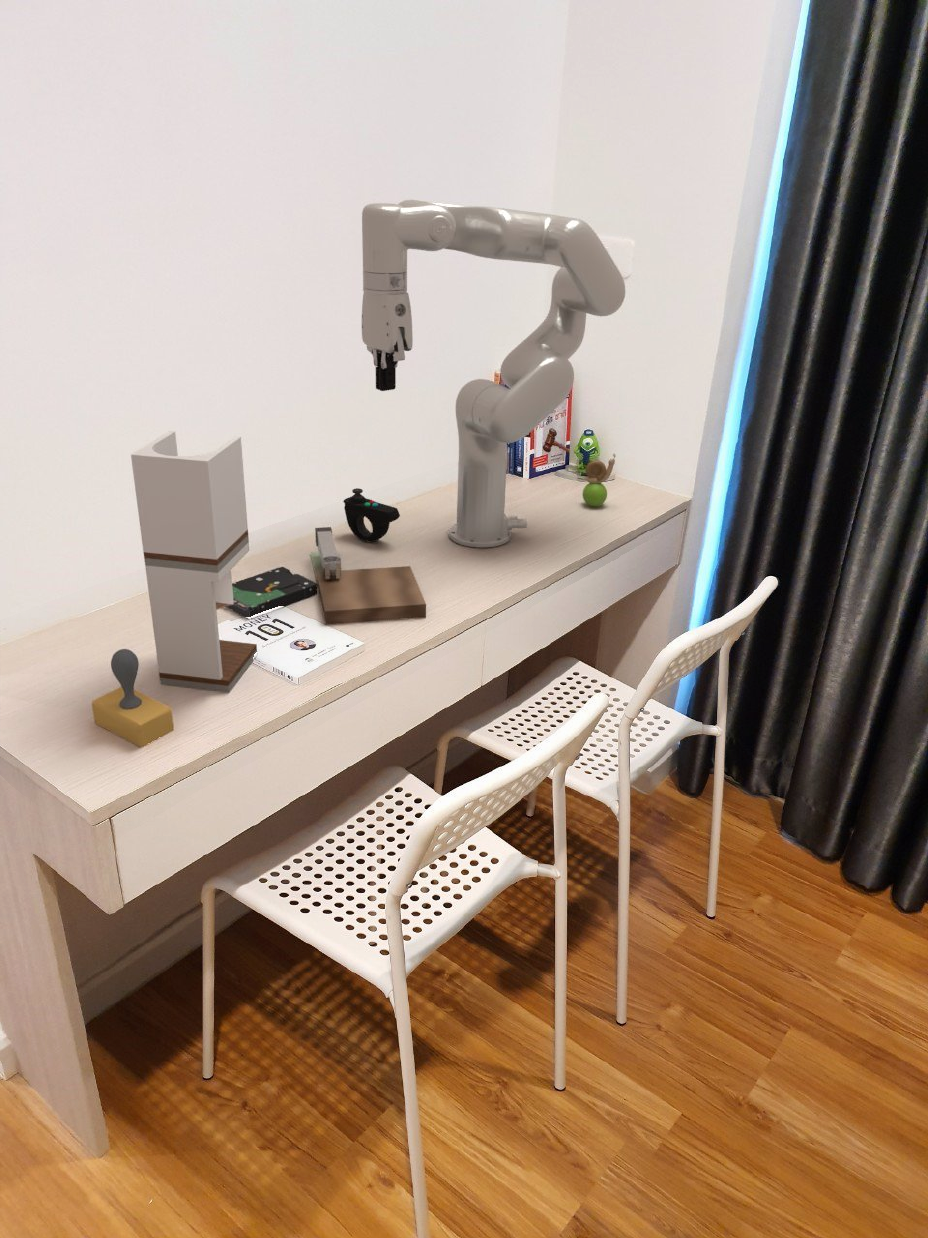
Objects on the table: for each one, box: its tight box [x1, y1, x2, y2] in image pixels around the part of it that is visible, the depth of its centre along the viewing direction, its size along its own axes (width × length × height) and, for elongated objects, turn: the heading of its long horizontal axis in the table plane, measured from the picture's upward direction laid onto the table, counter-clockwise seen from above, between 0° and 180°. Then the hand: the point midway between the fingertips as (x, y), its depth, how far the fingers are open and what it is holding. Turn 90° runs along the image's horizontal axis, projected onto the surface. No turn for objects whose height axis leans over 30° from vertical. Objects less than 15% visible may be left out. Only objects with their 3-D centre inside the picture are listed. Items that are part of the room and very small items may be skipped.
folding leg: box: [314, 526, 342, 579], centre depth 178 cm, size 17×3×3 cm, turn 13°
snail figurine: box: [582, 453, 617, 507], centre depth 214 cm, size 5×6×12 cm
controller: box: [343, 487, 401, 543], centre depth 193 cm, size 4×12×10 cm, turn 56°
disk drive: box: [225, 566, 318, 618], centre depth 170 cm, size 10×3×15 cm
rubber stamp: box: [91, 648, 175, 748], centre depth 131 cm, size 10×6×12 cm, turn 55°
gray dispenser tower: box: [130, 430, 258, 694], centre depth 140 cm, size 11×11×35 cm
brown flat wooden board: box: [310, 551, 427, 625], centre depth 176 cm, size 17×30×2 cm, turn 13°
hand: (385, 388), depth 175 cm, fingers closed
